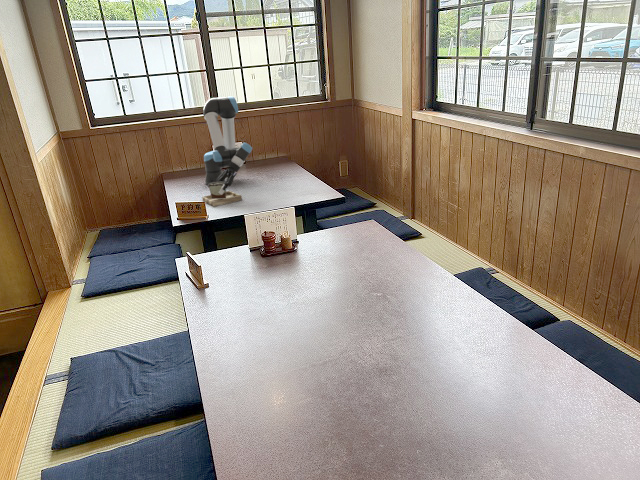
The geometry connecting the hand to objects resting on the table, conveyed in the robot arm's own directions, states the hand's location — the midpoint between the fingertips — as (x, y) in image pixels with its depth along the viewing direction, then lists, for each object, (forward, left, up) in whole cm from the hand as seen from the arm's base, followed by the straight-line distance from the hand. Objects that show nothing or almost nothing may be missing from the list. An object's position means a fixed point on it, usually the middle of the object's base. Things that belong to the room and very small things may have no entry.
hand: (216, 192), depth 313 cm
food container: (-1, +2, -4) cm, 5 cm away
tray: (0, +3, -6) cm, 7 cm away
